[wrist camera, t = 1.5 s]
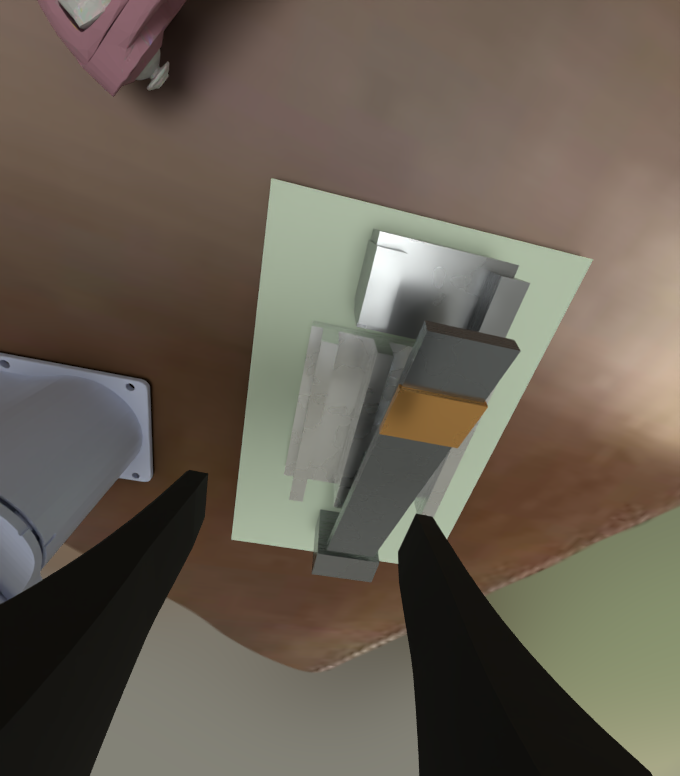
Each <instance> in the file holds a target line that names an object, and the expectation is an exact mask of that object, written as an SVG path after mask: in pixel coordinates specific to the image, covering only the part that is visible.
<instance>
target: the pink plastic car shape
mask: <svg viewBox="0 0 680 776" xmlns="http://www.w3.org/2000/svg"><path fill="white" fill-rule="evenodd" d="M37 1H38V3H39V5H40V6H41V8H42V10H43V12H44V13H45V15H46V17H47V19H48V20H49V22H50V24H51V25H52V27H53V29H54V30H55V32H56V33H57V35H58V36H59V37H60V39H61V40H62V41H63V42H64V44H65V45H66V46H67V47H68V49H69V50H70V51H71V53H72V54H73V55H74V56H75V57H76V59H77V60H78V62H79V64H80V65H81V66H82V67H83V68H84V69H85V70H86V71H87V72H88V73H89V74H90V75H91V76H92V77H93V78H94V79H95V80H96V81H97V82H98V83H99V84H100V85H101V86H102V87H103V88H104V89H105V90H106V91H108V92H109V93H110V94H111V95H112V96H115V95H116V93H117V92H118V91H119V89H120V88H121V87H122V86H124V85H127V84H129V83H132V82H134V81H135V80H143V79H147V78H150V79H151V82H150V83H149V85H148V86H147V90H149V91H150V90H154V89H155V88H157V89H159V88H160V87H161V86H162V84H163V83H164V82H165V81H166V79H167V78H168V76H169V75H168V72H169V62H168V61H167V62H166V63H165V64H164V65H163V66H162V67H161V68H160V66H159V62H160V55H161V54H160V48H161V46H162V40H163V33H164V30H165V29H166V27H167V26H168V25H169V23H170V22H171V21H172V19H173V18H174V17H175V16H176V14H177V13H178V12H179V10H180V9H181V8H182V6H183V5H184V3H185V2H186V1H187V0H37Z"/></svg>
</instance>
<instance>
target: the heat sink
mask: <svg viewBox="0 0 680 776" xmlns="http://www.w3.org/2000/svg"><path fill="white" fill-rule="evenodd" d="M414 344H415V342H412V341H407V340H403V339H398V338H393V337H389V336H384V335H379V334H375V333H370V332H365V331H361V330H356V329H351V328H347V327H342V326H337V325H333V324H328V323H323V322H319V321H314V320H313V323H312V327H311V333H310V338H309V343H308V349H307V354H306V359H305V365H304V370H303V375H302V381H301V386H300V391H299V397H298V402H297V407H296V412H295V418H294V423H293V428H292V434H291V439H290V444H289V450H288V455H287V460H286V466H285V471H284V475H287V476H293V480H292V486H291V491H290V497H289V500H294V501H300V502H303V497H304V493H305V489H306V484H307V480H308V479H311V480H317V481H323V482H330V483H334V505H333V507H338V508H342V507H343V504H344V502H345V500H346V498H347V495H348V493H349V491H350V489H351V486H352V484H353V482H354V479H355V477H356V475H357V473H358V470H359V468H360V466H361V464H362V461H363V459H364V457H365V455H366V452H367V450H368V448H369V446H370V443H371V441H372V439H373V436H374V434H375V432H376V430H377V427H378V425H379V423H380V421H381V418H382V416H383V414H384V412H385V409H386V407H387V405H388V403H389V400H390V398H391V396H392V394H393V391H394V389H395V387H396V384H397V382H398V380H399V378H400V375H401V373H402V371H403V369H404V366H405V364H406V362H407V360H408V357H409V355H410V353H411V351H412V348H413V346H414ZM496 386H497V385H496ZM495 388H496V387H495ZM495 388H494V389H493V391H492V392H491V393H490V395H489V396H488V398H487V399H486V400H485V401H486V403H487V404H488V402H489V400H490V398H491V396H492V394H493V392H494V390H495ZM481 417H482V416H481ZM480 419H481V418H480ZM480 419H479V420H478V422H477V423H476V424H475V426H474V427H473V428H472V430H471V431H470V432H469V434H468V435H467V437H466V438H465V439H464V441H463V442H462V443H461V445H460V446H459V447H458V448H453V447H452V448H451V449H450V451H449V452H448V454H447V455H446V456H445V458H444V459H443V461H442V462H441V463H440V465H439V466H438V468H437V469H436V470H435V472H434V473H433V475H432V476H431V477H430V479H429V480H428V482H427V483H426V484H425V486H424V487H423V489H422V490H421V491H420V493H419V494H418V496H417V497H416V498H415V500H414V504H415V508H416V512H417V514H421V515H427V516H432V517H433V518H434V516H435V513H436V511H437V509H438V507H439V505H440V503H441V501H442V499H443V497H444V495H445V492H446V490H447V488H448V486H449V484H450V482H451V480H452V478H453V476H454V474H455V472H456V469H457V467H458V465H459V463H460V461H461V459H462V457H463V455H464V453H465V451H466V448H467V446H468V444H469V442H470V440H471V438H472V436H473V434H474V432H475V430H476V427H477V425H478V423H479V421H480Z"/></svg>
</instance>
